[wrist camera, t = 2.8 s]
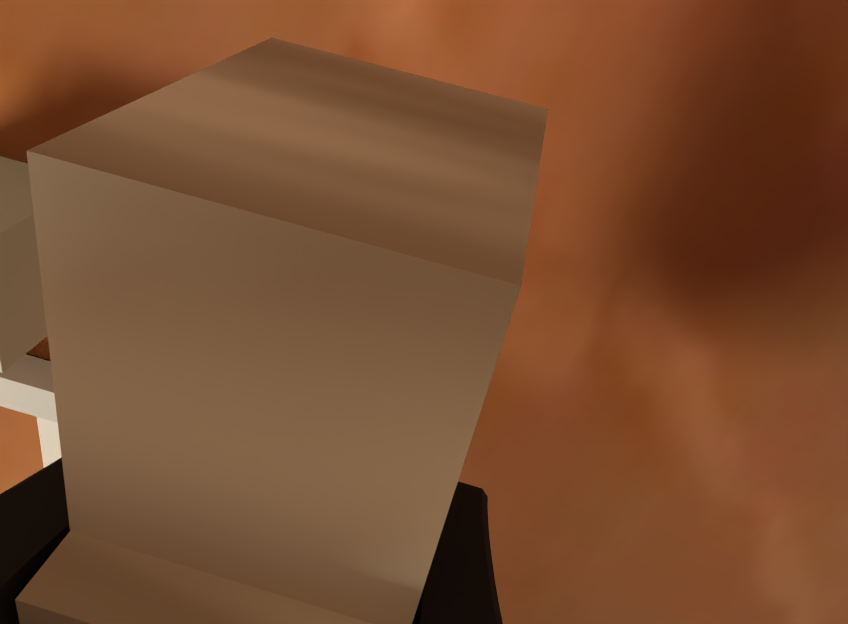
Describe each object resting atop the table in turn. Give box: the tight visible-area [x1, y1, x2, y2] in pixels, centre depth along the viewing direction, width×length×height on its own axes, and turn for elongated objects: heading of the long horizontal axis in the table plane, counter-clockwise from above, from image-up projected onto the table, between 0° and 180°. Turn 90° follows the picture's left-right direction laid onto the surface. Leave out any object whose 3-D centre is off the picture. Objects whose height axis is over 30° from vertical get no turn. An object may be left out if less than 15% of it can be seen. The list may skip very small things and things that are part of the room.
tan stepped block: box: [15, 38, 548, 624], centre depth 9 cm, size 11×4×5 cm, turn 169°
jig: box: [0, 354, 62, 468], centre depth 25 cm, size 14×7×1 cm, turn 169°
